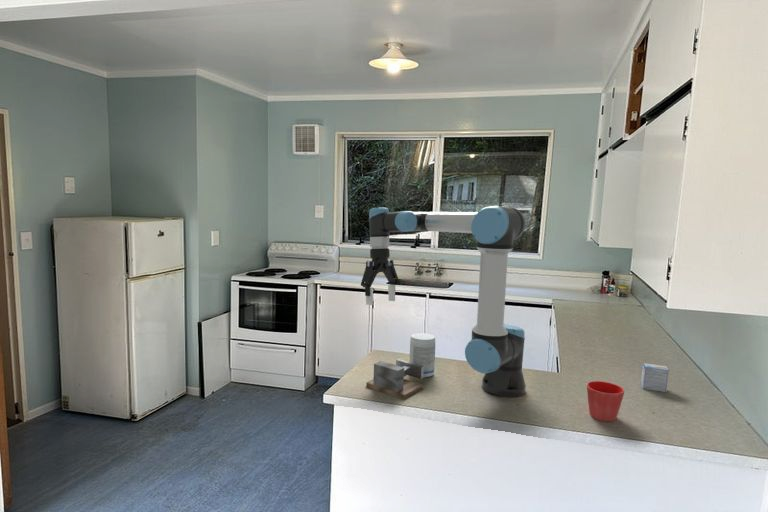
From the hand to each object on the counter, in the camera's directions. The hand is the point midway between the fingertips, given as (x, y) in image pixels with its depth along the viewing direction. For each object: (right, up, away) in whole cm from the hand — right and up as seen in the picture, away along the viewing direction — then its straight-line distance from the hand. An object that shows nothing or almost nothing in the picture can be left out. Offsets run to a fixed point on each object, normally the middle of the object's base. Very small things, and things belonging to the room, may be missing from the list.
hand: (381, 302), depth 186 cm
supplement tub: (+15, -27, -3) cm, 31 cm away
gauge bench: (+5, -28, -18) cm, 34 cm away
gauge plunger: (+9, -26, -12) cm, 30 cm away
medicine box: (+101, -31, -9) cm, 106 cm away
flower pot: (+71, -33, -34) cm, 85 cm away
